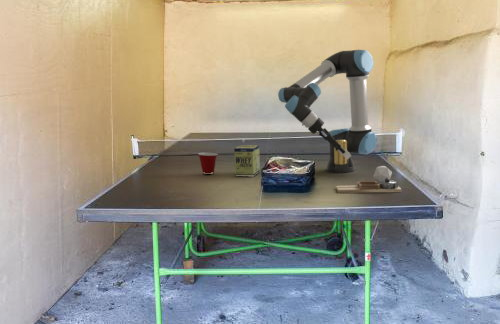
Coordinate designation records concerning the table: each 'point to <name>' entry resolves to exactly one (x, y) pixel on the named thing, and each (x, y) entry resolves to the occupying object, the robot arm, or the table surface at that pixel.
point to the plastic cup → (207, 161)
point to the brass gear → (337, 155)
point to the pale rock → (382, 173)
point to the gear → (388, 184)
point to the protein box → (247, 160)
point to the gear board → (365, 188)
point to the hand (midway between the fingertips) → (348, 156)
